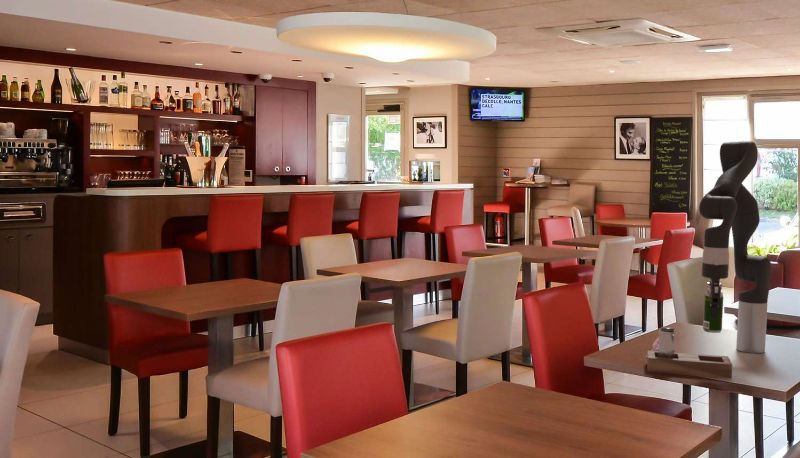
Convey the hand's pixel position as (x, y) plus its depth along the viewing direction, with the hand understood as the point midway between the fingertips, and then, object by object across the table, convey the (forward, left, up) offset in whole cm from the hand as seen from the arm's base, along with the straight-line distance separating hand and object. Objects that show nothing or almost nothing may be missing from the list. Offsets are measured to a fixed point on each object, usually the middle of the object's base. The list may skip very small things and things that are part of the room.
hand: (712, 316), depth 250 cm
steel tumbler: (0, -13, -17) cm, 22 cm away
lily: (-17, -15, -18) cm, 29 cm away
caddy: (0, -6, -18) cm, 19 cm away
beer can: (0, 0, -5) cm, 5 cm away
